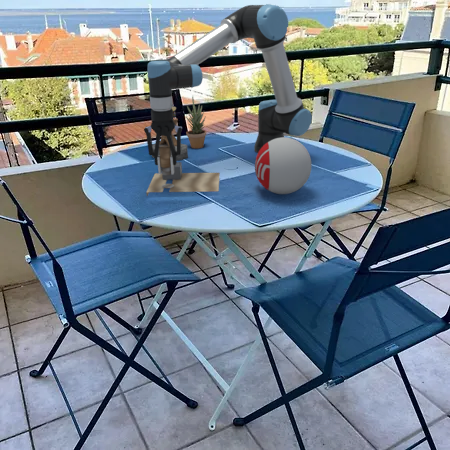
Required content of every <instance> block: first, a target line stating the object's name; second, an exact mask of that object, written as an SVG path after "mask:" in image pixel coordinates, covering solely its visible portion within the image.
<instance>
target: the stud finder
mask: <svg viewBox="0 0 450 450" xmlns="http://www.w3.org/2000/svg"><path fill="white" fill-rule="evenodd" d="M182 164H183V163H182V161H177V163H176V165H174V174H170V175H162V177H163V180H167V181H168V180H172V181H173V180H176V179H181V177H182V173H183V165H182Z"/></svg>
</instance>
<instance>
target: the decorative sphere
mask: <svg viewBox="0 0 450 450" xmlns="http://www.w3.org/2000/svg"><path fill="white" fill-rule="evenodd" d="M254 160H255V163H254V172H255V176H256V178H257V181H258V182H259V184H260V185H262V186H261V187H263V188H265V190H267V191H268V192H271V193H274V194H277V195H288V194H292V193H294V192H297V191H298V190H300V189H301V188H302V187H304V186H305V184H306V183H307V182H308V181H309V180H308V179H309V178H310V176H311V173H312V159H311V155H310V153H309V151H308V149H307V148H306V147H305V145H304V144H302V143H301V142H299V141H298V140H296V139H295V138H292V137H285V136H284V137H282V138H276V139H273V140H271V141H269V142H267V143H266V144H265V145H264V146H263V147H262V148H261V149H260V151H259V152H258V153H257V154H256V156H255V159H254Z"/></svg>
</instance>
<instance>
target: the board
mask: <svg viewBox="0 0 450 450" xmlns="http://www.w3.org/2000/svg"><path fill="white" fill-rule="evenodd" d="M220 173H221V172H182V177H181V179H176V180H172V182H171V183H167V181H168V180H163V177H162V173H161V175H159V172H158V173H154V175H153V177H152V179H151V181H150V183H149V185H148V188H147V190H146V193H145V194H146V197H148V196H149V194H150V193H163V192H164V189H169V192H168V193H184V192H185V193H190V192H191V193H193V192H194V193H195V192H197V193H198V192H199V193H200V192H205V193H206V192H208V193H209V192H219V191H220V190H219V188H220Z"/></svg>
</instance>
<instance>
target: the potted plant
mask: <svg viewBox="0 0 450 450" xmlns="http://www.w3.org/2000/svg"><path fill="white" fill-rule="evenodd" d="M191 100H192V111H191V109H190V107H189V106H188V105H186V107H187V110H188V112H189V113H188V117H189V118H188V117H187V116H185V119H186V120H187V121H188V122H189V123H188V125H189V128H190V130H188V131H186V137H187V138H188V141H189V145H190V147H191V148H192V149H201V148H204V144H205V139H206V136H207V131H206V130H204V128H205V123H204V122H205V120H206V116H204V114H205V111H202V110H203V105H201V106H200V104H198V107H197V106H195V100H194V96H191ZM203 116H204V118H203Z"/></svg>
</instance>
